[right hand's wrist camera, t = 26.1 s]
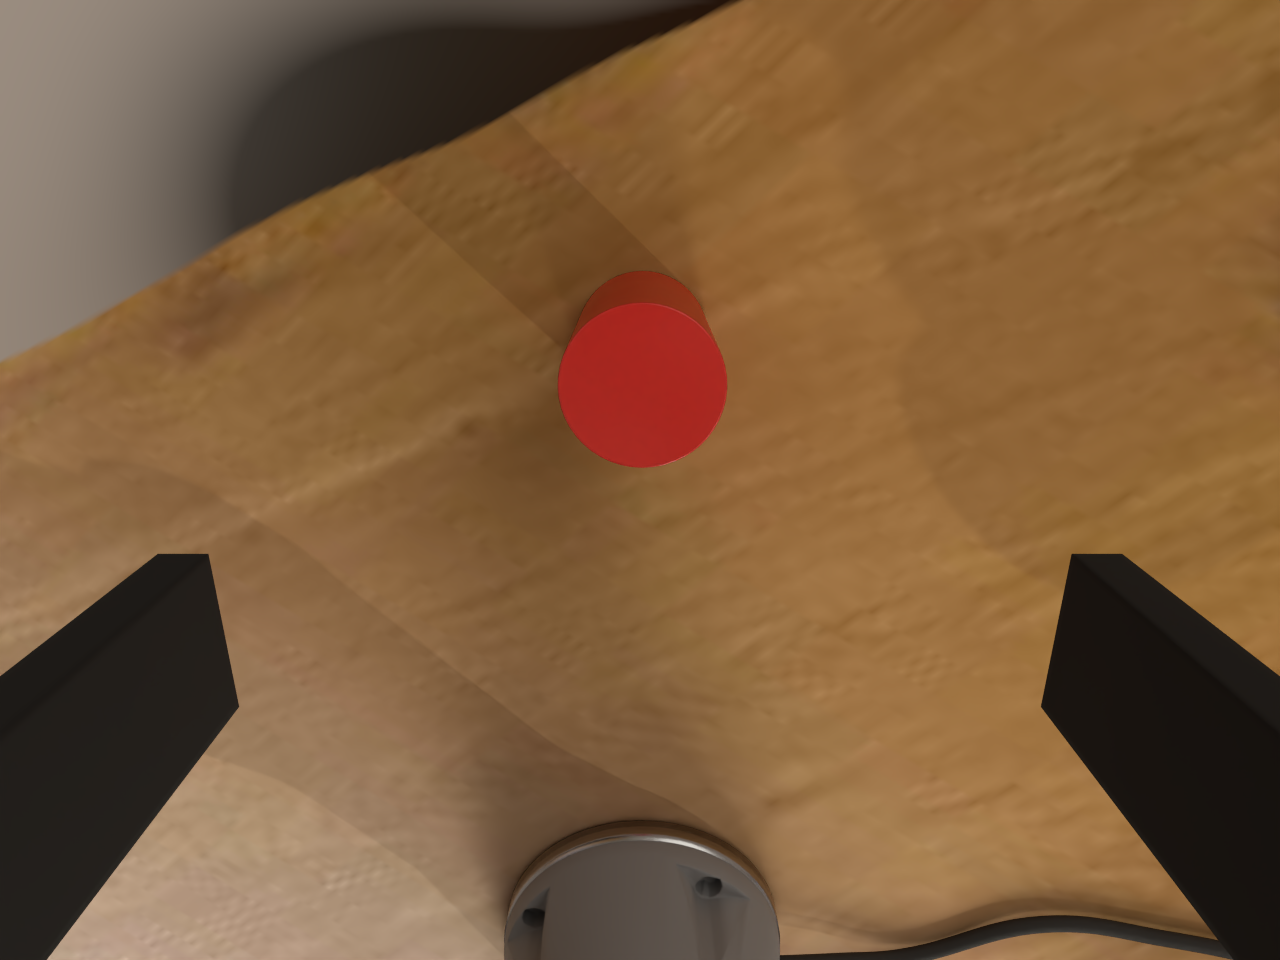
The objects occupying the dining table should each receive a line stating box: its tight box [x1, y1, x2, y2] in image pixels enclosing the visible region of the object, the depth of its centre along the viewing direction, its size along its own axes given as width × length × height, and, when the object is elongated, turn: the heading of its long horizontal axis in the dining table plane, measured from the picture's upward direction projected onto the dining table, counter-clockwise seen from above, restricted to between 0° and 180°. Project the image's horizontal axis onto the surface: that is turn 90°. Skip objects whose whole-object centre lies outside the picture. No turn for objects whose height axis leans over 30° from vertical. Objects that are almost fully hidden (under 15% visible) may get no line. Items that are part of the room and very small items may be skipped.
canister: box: [558, 271, 727, 468], centre depth 31 cm, size 6×6×9 cm
